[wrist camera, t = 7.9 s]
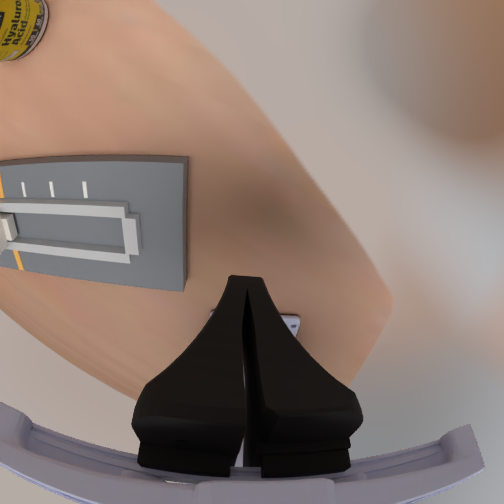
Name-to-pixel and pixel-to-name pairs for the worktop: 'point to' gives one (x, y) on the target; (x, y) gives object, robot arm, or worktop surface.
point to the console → (99, 218)
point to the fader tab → (7, 230)
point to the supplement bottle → (21, 27)
